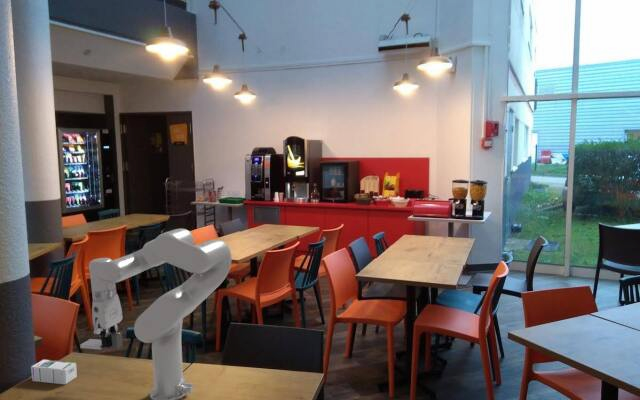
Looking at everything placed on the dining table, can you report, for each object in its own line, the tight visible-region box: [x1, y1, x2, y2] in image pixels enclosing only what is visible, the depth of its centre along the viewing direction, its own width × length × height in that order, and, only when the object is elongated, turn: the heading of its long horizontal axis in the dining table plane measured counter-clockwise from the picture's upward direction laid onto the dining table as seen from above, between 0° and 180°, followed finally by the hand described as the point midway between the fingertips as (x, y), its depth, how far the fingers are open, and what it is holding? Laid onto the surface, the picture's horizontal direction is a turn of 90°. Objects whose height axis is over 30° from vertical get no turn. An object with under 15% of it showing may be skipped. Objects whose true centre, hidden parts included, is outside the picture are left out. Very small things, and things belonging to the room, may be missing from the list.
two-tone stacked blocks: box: [79, 330, 124, 350], centre depth 163 cm, size 14×5×5 cm, turn 77°
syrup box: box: [30, 359, 78, 385], centre depth 169 cm, size 6×6×14 cm
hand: (110, 344), depth 163 cm, fingers closed on two-tone stacked blocks, 3 cm apart
